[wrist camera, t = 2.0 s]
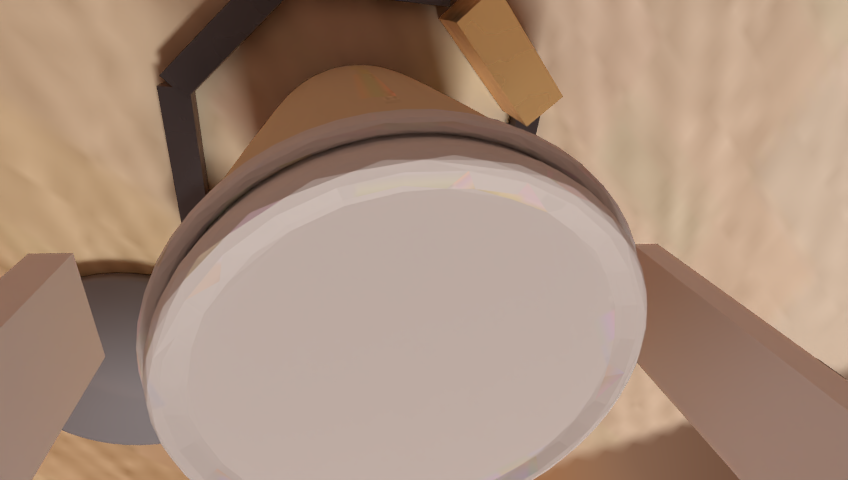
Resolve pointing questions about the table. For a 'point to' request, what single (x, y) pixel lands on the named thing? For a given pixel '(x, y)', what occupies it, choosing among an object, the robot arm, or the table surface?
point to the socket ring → (465, 20)
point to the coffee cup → (390, 297)
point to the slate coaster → (115, 365)
